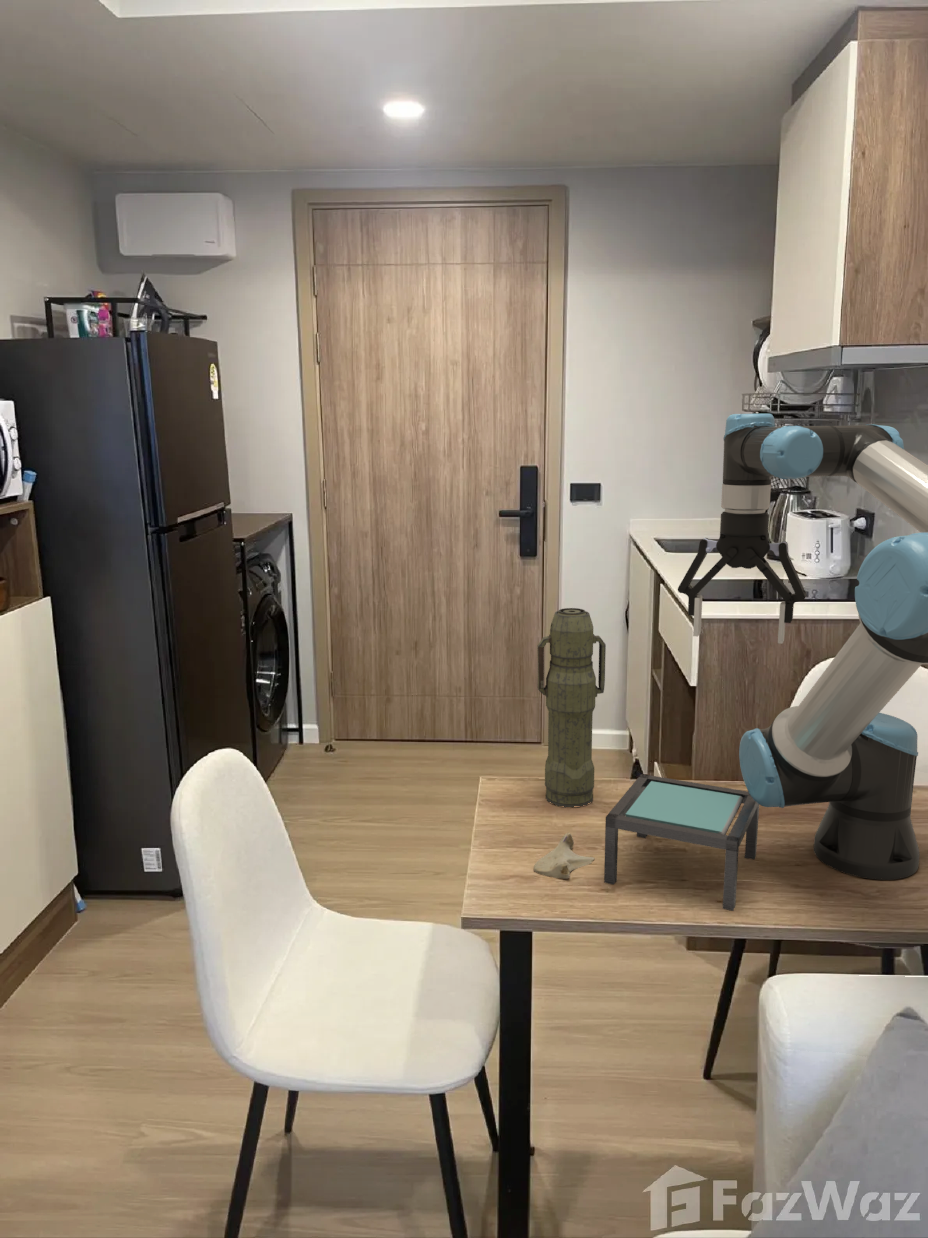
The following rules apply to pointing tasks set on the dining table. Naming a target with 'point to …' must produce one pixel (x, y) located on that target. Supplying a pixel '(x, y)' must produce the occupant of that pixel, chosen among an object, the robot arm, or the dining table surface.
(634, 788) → the frame
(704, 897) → the dining table surface
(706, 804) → the trapdoor
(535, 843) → the dining table surface
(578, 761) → the thermos
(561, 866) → the fossil
